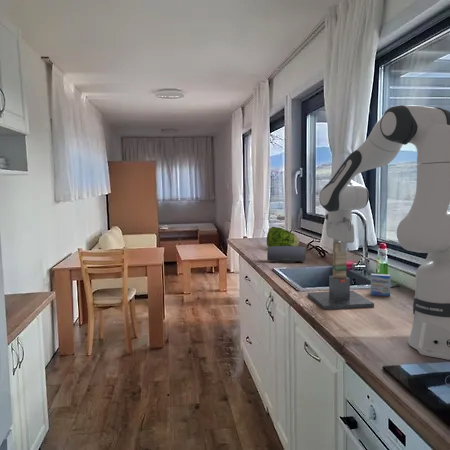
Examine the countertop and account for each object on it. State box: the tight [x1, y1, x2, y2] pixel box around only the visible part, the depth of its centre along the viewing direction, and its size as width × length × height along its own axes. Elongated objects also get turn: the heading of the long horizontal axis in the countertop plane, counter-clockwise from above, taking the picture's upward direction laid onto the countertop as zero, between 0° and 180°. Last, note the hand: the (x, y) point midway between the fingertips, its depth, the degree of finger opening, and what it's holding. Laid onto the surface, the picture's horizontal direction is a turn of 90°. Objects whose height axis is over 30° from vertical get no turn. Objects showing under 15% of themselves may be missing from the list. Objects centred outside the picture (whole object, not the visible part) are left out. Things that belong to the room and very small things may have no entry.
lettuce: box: [266, 226, 300, 248], centre depth 308 cm, size 17×23×16 cm
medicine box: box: [370, 273, 392, 297], centre depth 183 cm, size 8×4×9 cm, turn 70°
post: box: [332, 241, 348, 279], centre depth 172 cm, size 4×4×16 cm
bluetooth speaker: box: [266, 246, 307, 264], centre depth 260 cm, size 23×9×10 cm, turn 80°
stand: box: [307, 275, 375, 311], centre depth 173 cm, size 20×20×10 cm
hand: (339, 251), depth 171 cm, fingers closed on post, 4 cm apart
